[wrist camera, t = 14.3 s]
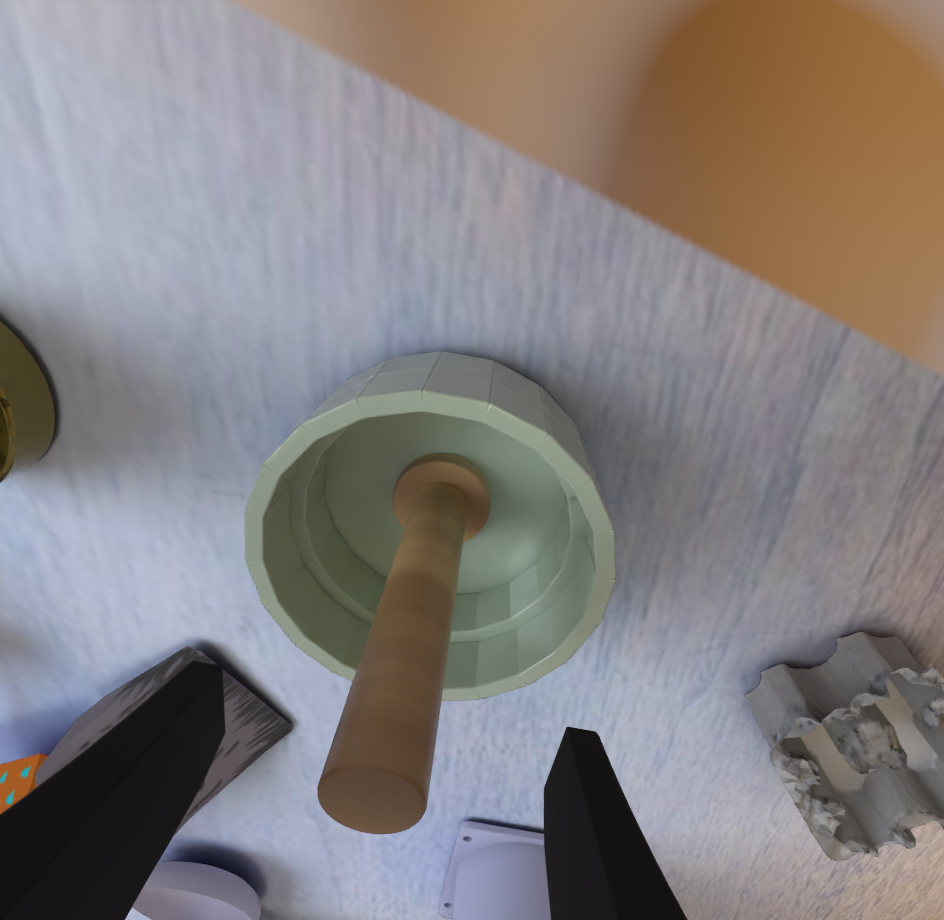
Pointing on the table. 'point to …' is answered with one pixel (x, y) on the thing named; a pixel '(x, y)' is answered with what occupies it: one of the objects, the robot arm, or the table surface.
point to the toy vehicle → (244, 712)
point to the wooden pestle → (405, 654)
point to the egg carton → (858, 743)
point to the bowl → (378, 531)
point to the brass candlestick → (22, 407)
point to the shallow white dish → (196, 894)
